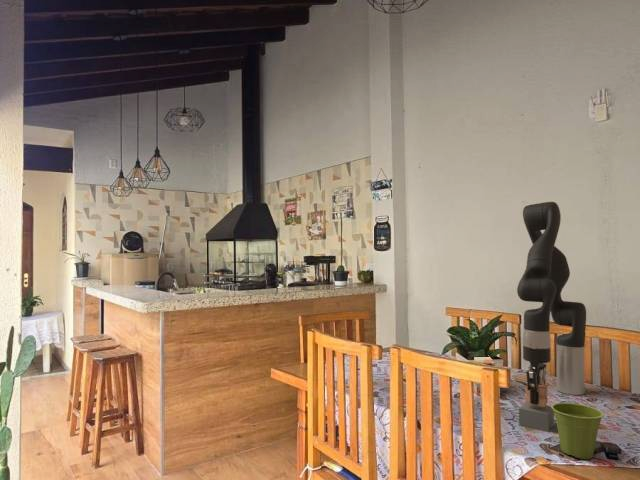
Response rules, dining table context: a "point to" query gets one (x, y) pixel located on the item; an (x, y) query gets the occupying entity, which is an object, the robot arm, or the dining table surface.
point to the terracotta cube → (541, 395)
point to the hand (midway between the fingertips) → (536, 401)
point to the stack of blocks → (485, 361)
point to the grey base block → (536, 417)
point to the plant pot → (577, 428)
